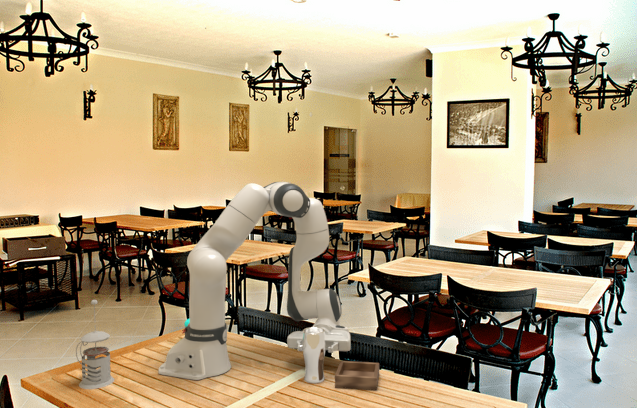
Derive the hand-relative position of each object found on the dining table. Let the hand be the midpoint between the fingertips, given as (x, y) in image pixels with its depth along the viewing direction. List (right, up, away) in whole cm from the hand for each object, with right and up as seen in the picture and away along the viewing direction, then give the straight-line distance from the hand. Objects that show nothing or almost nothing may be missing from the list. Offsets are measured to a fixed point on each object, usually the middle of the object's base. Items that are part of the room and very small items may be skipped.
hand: (315, 349), depth 151 cm
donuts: (-42, -8, +29) cm, 52 cm away
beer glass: (0, -9, -2) cm, 9 cm away
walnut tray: (+13, -8, -3) cm, 16 cm away
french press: (-66, -9, -2) cm, 67 cm away
